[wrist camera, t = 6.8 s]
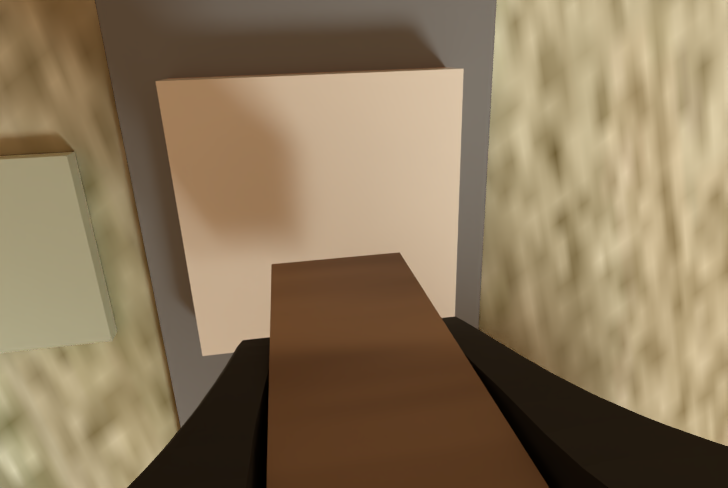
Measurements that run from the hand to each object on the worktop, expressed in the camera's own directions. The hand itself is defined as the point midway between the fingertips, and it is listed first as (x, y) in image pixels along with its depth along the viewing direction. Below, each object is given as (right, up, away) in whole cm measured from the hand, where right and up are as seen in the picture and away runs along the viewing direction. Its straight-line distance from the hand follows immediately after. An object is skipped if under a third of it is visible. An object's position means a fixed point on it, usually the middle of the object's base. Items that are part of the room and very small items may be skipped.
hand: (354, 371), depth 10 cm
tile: (-1, 0, +7) cm, 7 cm away
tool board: (-11, +2, +5) cm, 12 cm away
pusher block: (0, +1, +2) cm, 2 cm away
